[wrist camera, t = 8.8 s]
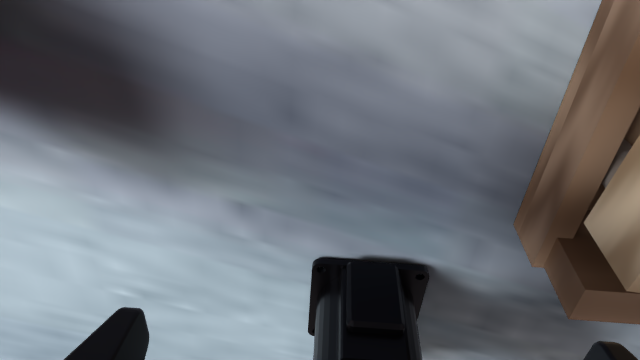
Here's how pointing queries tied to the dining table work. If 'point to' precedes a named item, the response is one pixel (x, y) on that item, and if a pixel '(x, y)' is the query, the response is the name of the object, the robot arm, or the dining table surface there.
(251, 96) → the dining table surface
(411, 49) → the dining table surface
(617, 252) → the board
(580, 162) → the frame
